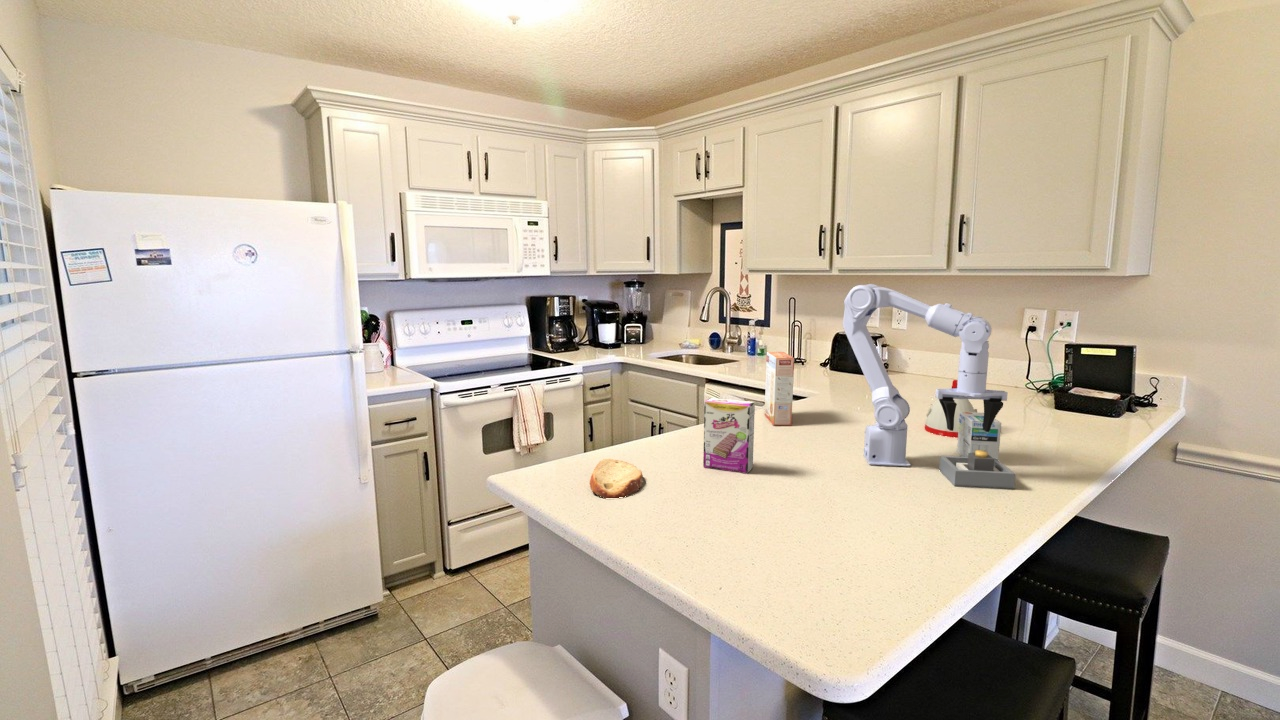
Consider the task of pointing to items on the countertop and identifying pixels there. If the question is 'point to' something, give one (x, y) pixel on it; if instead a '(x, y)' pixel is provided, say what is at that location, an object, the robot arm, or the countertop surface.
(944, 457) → the box
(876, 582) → the countertop surface
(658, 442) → the countertop surface
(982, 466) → the plug
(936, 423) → the cream dome
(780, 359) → the cracker box
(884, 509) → the countertop surface
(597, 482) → the slice of bread
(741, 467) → the candy bar box
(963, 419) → the light bulb box
